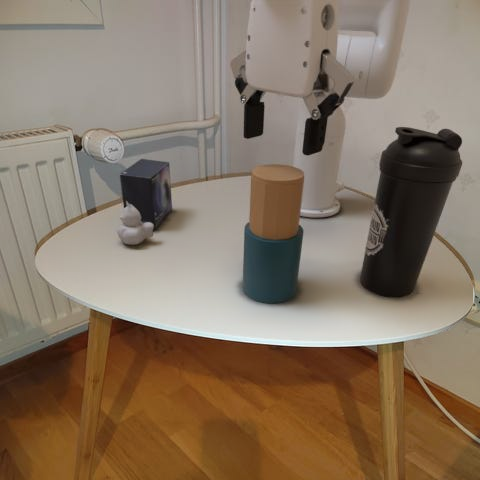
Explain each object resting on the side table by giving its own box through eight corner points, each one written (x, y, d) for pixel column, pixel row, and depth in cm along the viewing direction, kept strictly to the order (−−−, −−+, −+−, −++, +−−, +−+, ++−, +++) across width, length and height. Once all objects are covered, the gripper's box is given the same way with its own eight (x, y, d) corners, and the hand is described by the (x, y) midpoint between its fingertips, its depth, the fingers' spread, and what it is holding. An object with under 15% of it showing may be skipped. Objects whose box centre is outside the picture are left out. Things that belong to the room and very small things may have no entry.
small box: (156, 231, 81) (151, 177, 74) (124, 228, 82) (116, 174, 75) (174, 211, 89) (170, 160, 83) (145, 208, 90) (139, 157, 84)
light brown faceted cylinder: (271, 215, 63) (275, 161, 58) (307, 229, 59) (314, 172, 55) (239, 228, 59) (241, 171, 54) (276, 244, 55) (281, 184, 51)
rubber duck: (122, 236, 79) (115, 194, 74) (157, 236, 79) (153, 195, 74) (116, 249, 74) (109, 206, 70) (153, 249, 75) (148, 206, 70)
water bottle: (349, 266, 72) (379, 120, 58) (409, 268, 71) (453, 123, 58) (361, 299, 63) (399, 138, 50) (428, 302, 63) (485, 141, 50)
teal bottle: (267, 269, 70) (274, 170, 60) (307, 289, 65) (322, 184, 56) (231, 287, 65) (232, 182, 55) (271, 310, 61) (281, 200, 51)
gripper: (390, -32, 40) (356, 153, 50) (257, -29, 49) (251, 127, 60) (346, -37, 36) (319, 167, 46) (210, -33, 45) (213, 136, 56)
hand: (281, 144), depth 53 cm, fingers open, 9 cm apart
